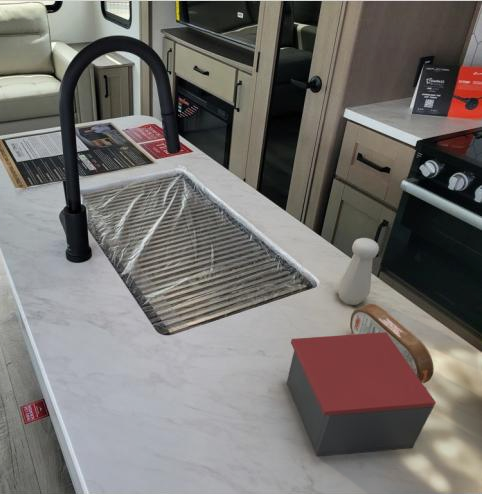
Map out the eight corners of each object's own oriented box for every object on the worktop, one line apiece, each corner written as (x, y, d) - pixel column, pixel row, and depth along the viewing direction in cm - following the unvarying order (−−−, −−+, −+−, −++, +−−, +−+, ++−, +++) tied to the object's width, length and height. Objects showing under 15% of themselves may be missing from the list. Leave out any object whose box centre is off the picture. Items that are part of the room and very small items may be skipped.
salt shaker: (341, 284, 95) (357, 229, 87) (370, 296, 92) (389, 240, 84) (329, 299, 91) (345, 243, 84) (359, 312, 88) (378, 255, 81)
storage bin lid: (323, 416, 59) (325, 411, 59) (290, 342, 70) (291, 338, 69) (433, 406, 60) (436, 402, 60) (384, 336, 71) (386, 331, 70)
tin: (425, 393, 73) (443, 355, 68) (409, 400, 72) (427, 361, 67) (356, 329, 84) (368, 292, 80) (342, 334, 83) (353, 297, 79)
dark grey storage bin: (316, 456, 64) (330, 415, 59) (286, 382, 74) (295, 342, 70) (412, 448, 65) (433, 407, 60) (369, 376, 76) (384, 336, 71)
